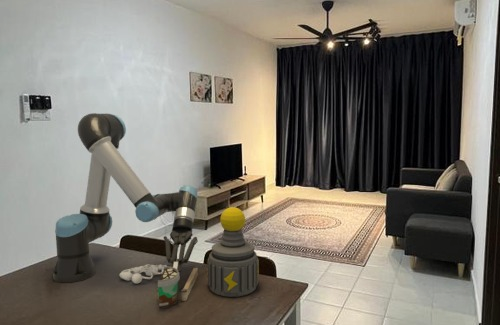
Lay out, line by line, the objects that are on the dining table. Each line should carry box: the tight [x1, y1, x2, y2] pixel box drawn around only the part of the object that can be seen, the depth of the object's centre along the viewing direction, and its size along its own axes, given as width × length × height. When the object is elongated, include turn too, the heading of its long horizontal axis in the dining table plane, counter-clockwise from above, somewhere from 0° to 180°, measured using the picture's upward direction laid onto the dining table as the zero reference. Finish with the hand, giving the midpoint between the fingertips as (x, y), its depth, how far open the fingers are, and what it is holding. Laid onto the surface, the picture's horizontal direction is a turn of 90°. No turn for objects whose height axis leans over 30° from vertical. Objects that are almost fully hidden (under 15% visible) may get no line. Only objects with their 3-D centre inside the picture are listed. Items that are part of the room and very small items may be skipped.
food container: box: [157, 265, 181, 309], centre depth 131 cm, size 12×6×10 cm, turn 2°
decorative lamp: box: [206, 206, 260, 298], centre depth 142 cm, size 19×19×30 cm
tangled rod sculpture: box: [119, 264, 168, 284], centre depth 155 cm, size 19×14×4 cm
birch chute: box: [156, 267, 198, 302], centre depth 143 cm, size 10×22×4 cm, turn 178°
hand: (173, 280), depth 135 cm, fingers closed
